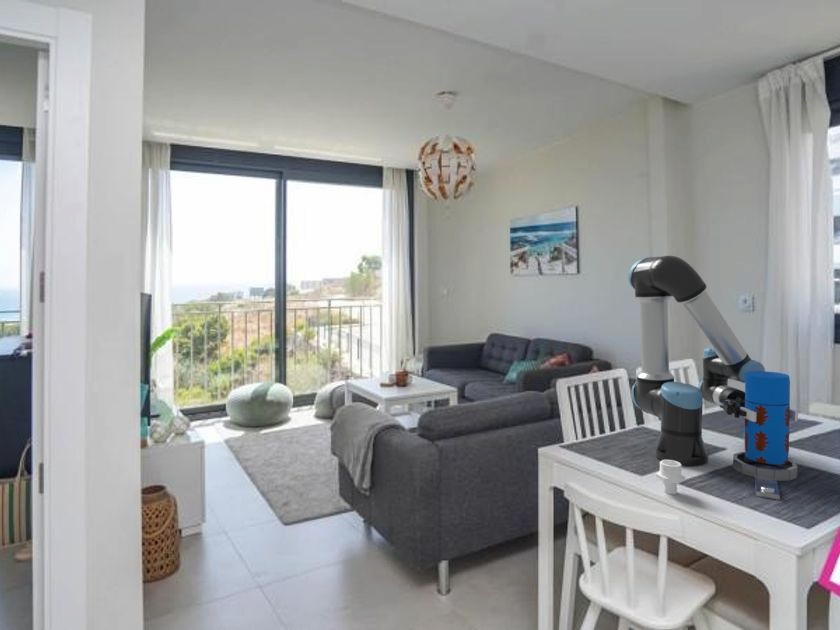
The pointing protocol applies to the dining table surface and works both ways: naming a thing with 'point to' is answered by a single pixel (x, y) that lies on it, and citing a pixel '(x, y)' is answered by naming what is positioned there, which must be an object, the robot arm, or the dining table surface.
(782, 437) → the thermos
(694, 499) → the dining table surface
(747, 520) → the dining table surface
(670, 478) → the pipe fitting
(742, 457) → the grey handled tray
